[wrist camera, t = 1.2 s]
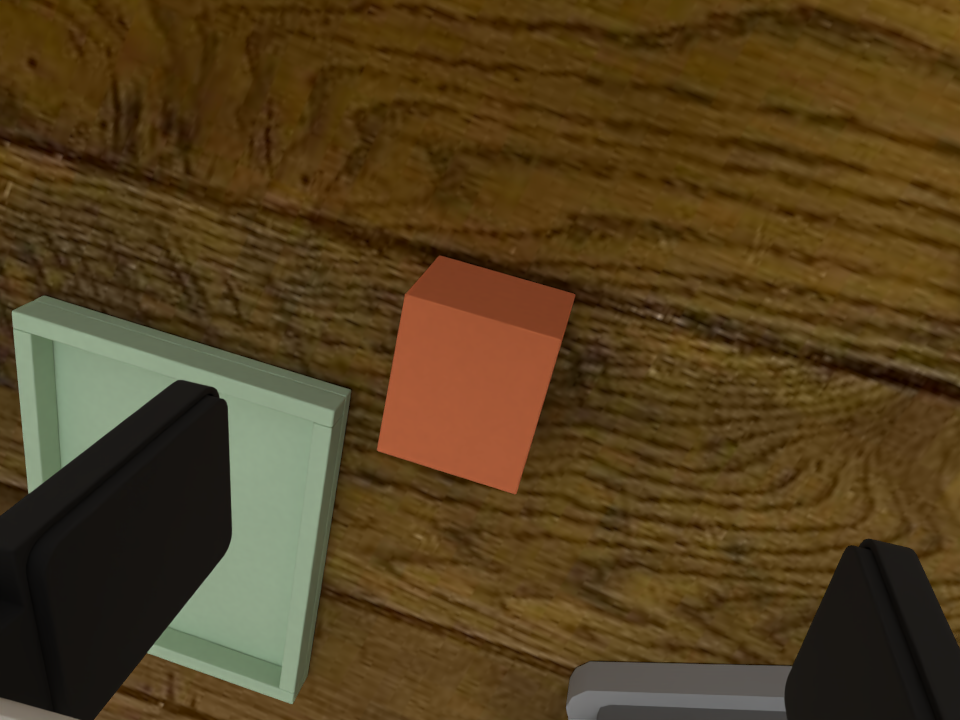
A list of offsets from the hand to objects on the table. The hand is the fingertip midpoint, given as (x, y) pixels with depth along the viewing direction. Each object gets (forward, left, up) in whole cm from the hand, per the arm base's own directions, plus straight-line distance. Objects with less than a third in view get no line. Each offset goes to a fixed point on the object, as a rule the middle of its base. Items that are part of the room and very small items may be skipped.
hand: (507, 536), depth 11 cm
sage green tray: (-4, -22, -16) cm, 27 cm away
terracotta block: (0, -6, -16) cm, 17 cm away
